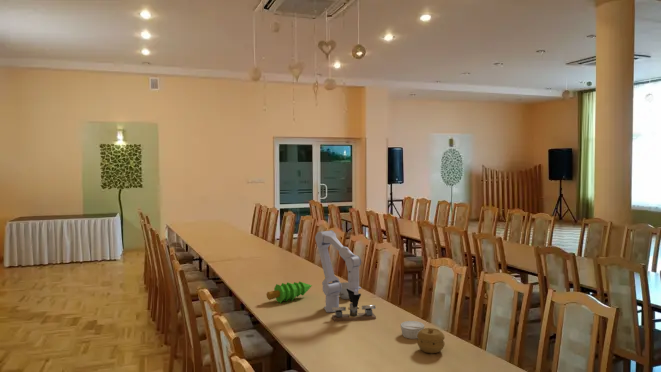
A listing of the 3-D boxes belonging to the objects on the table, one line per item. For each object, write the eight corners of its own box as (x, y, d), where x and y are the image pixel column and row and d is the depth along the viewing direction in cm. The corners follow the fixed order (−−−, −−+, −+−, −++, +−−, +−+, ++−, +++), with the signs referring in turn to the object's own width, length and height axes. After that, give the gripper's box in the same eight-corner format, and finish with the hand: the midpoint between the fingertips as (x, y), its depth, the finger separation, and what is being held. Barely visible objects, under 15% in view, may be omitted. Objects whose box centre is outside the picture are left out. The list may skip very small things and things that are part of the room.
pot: (440, 345, 217) (440, 323, 216) (447, 356, 205) (448, 332, 204) (414, 346, 216) (414, 324, 216) (420, 356, 205) (420, 333, 204)
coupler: (347, 314, 256) (347, 303, 256) (358, 313, 258) (357, 302, 257) (349, 317, 253) (349, 305, 252) (360, 315, 254) (360, 304, 254)
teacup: (340, 302, 284) (340, 288, 283) (332, 296, 295) (332, 283, 295) (363, 298, 290) (363, 285, 289) (354, 293, 301) (354, 280, 301)
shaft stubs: (331, 315, 255) (331, 306, 255) (374, 313, 259) (374, 303, 259) (332, 318, 252) (332, 308, 251) (376, 315, 255) (376, 306, 255)
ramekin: (406, 341, 222) (406, 330, 222) (396, 333, 233) (396, 322, 233) (428, 338, 225) (428, 327, 225) (417, 330, 236) (417, 319, 236)
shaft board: (332, 317, 257) (332, 314, 257) (372, 314, 261) (372, 311, 260) (334, 321, 250) (334, 318, 250) (375, 318, 254) (375, 316, 254)
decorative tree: (265, 282, 283) (309, 273, 300) (263, 298, 287) (306, 288, 304) (274, 293, 275) (318, 283, 291) (271, 310, 279) (315, 299, 296)
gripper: (364, 282, 248) (364, 308, 248) (358, 275, 262) (358, 300, 263) (350, 282, 247) (350, 309, 247) (345, 275, 261) (345, 300, 262)
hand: (353, 304), depth 255 cm, fingers open, 7 cm apart
